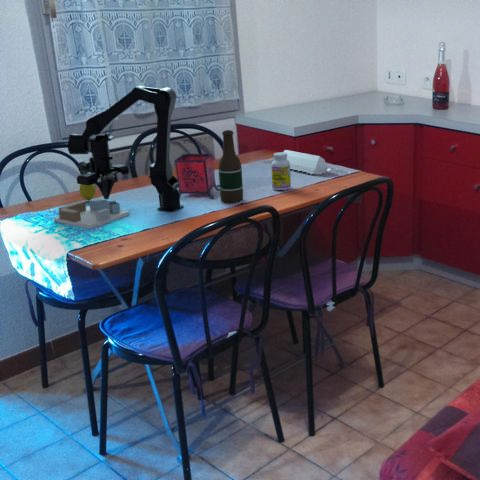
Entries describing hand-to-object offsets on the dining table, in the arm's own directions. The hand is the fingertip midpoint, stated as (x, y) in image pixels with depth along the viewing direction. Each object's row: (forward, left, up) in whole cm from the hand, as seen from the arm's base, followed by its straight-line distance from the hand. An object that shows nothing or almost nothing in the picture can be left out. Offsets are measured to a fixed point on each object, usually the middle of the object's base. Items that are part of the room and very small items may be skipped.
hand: (106, 199), depth 233 cm
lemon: (+14, -4, -4) cm, 15 cm away
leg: (-4, +5, -2) cm, 7 cm away
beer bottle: (-33, -27, -4) cm, 43 cm away
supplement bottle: (-40, -47, -4) cm, 62 cm away
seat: (-3, +10, -3) cm, 11 cm away
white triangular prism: (-32, -74, -4) cm, 81 cm away
